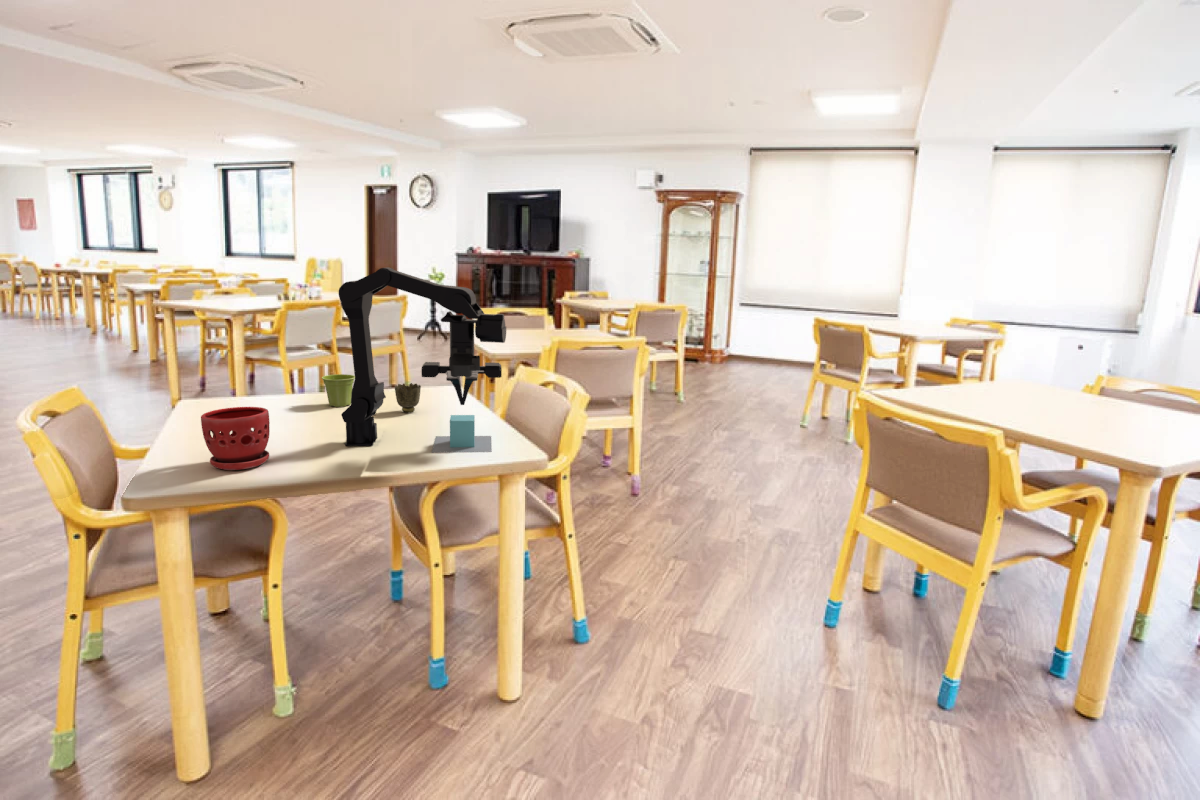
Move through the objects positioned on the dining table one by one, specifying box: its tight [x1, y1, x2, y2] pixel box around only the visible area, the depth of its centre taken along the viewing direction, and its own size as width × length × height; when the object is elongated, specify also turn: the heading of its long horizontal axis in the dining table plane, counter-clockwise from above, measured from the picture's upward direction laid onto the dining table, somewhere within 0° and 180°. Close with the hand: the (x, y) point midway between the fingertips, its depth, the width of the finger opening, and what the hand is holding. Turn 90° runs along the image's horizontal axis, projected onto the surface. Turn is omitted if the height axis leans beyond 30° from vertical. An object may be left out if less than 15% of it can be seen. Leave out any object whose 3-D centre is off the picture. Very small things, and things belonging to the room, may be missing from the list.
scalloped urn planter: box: [393, 382, 422, 414], centre depth 202 cm, size 8×7×8 cm
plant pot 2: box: [321, 373, 355, 408], centre depth 207 cm, size 9×9×9 cm
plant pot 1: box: [200, 406, 270, 471], centre depth 150 cm, size 13×13×12 cm
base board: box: [431, 435, 493, 454], centre depth 170 cm, size 14×14×1 cm
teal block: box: [449, 414, 476, 447], centre depth 169 cm, size 6×6×7 cm
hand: (462, 404), depth 168 cm, fingers closed
